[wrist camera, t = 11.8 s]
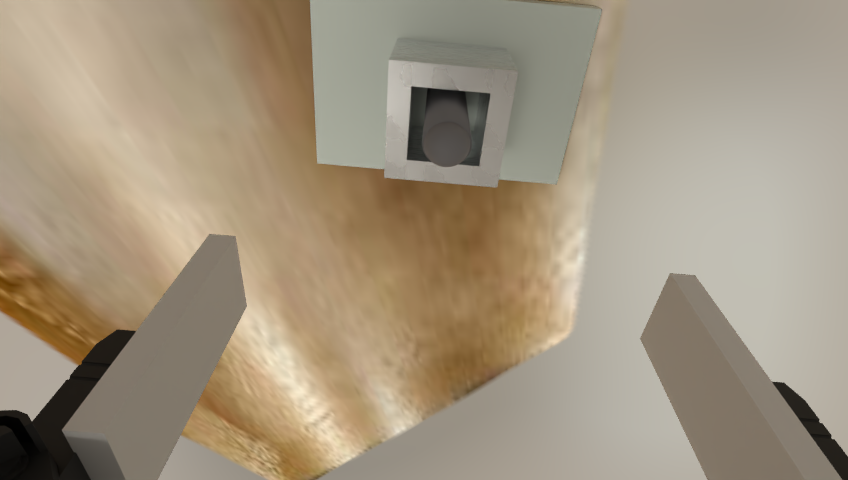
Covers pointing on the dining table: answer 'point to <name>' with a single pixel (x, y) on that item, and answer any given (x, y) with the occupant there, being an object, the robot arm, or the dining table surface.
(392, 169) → the collar
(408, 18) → the post block
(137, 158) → the dining table surface
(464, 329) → the dining table surface
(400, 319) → the dining table surface
